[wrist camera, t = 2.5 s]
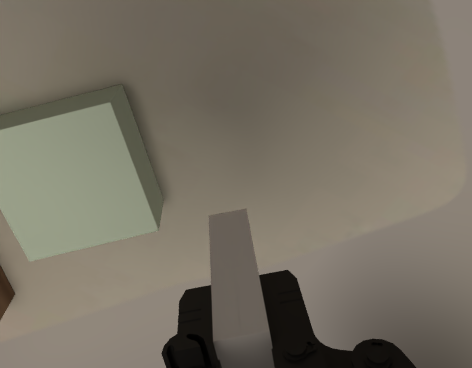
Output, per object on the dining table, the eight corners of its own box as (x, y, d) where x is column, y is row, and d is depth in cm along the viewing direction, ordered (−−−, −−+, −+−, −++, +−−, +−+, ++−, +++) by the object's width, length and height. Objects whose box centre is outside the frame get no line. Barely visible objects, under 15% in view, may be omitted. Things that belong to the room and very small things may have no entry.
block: (122, 82, 26) (110, 102, 23) (164, 198, 30) (158, 230, 26) (-7, 115, 27) (-39, 139, 23) (50, 225, 30) (29, 261, 27)
